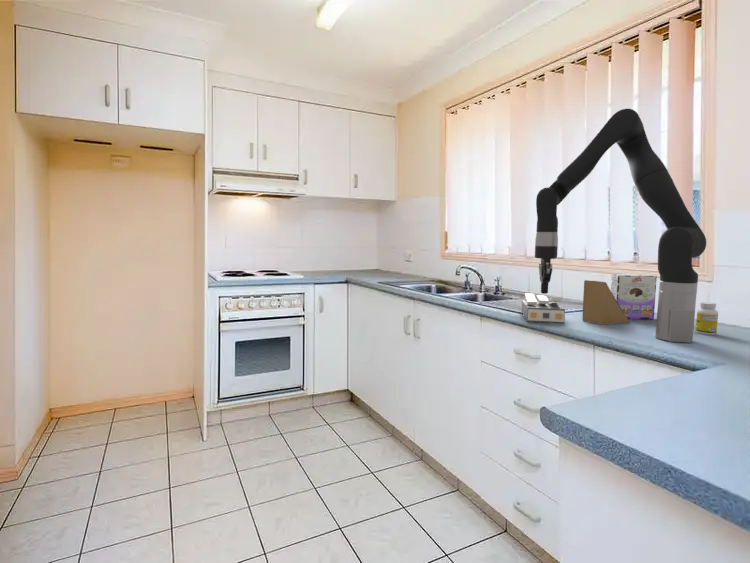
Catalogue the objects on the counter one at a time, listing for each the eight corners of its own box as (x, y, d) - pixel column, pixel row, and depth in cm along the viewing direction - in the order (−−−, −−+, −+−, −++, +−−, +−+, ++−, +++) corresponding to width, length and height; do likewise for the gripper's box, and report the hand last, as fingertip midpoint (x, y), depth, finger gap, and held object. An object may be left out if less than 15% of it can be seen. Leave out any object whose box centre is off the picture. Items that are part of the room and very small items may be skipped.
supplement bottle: (695, 330, 145) (698, 301, 144) (716, 333, 142) (719, 302, 141) (694, 333, 141) (697, 303, 140) (716, 336, 137) (719, 304, 136)
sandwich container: (630, 321, 160) (633, 280, 159) (603, 325, 153) (606, 282, 152) (608, 317, 168) (611, 278, 166) (581, 320, 161) (584, 279, 159)
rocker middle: (549, 303, 159) (549, 300, 159) (539, 303, 160) (539, 300, 160) (544, 298, 168) (545, 295, 168) (536, 298, 169) (536, 295, 168)
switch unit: (564, 323, 154) (565, 307, 153) (527, 321, 157) (528, 305, 156) (554, 314, 172) (555, 299, 171) (521, 312, 175) (522, 298, 174)
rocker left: (536, 305, 160) (536, 301, 160) (527, 304, 161) (527, 301, 161) (533, 296, 169) (533, 293, 168) (524, 296, 169) (524, 293, 169)
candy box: (646, 316, 170) (649, 274, 168) (654, 319, 164) (657, 275, 162) (608, 315, 171) (611, 273, 169) (615, 318, 165) (618, 274, 163)
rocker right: (561, 301, 158) (561, 298, 158) (552, 300, 159) (552, 297, 159) (556, 302, 167) (556, 298, 167) (547, 301, 168) (547, 298, 168)
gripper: (561, 245, 151) (559, 295, 153) (553, 245, 164) (551, 291, 165) (538, 245, 152) (536, 295, 154) (532, 244, 165) (530, 291, 167)
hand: (544, 293), depth 160 cm, fingers closed
